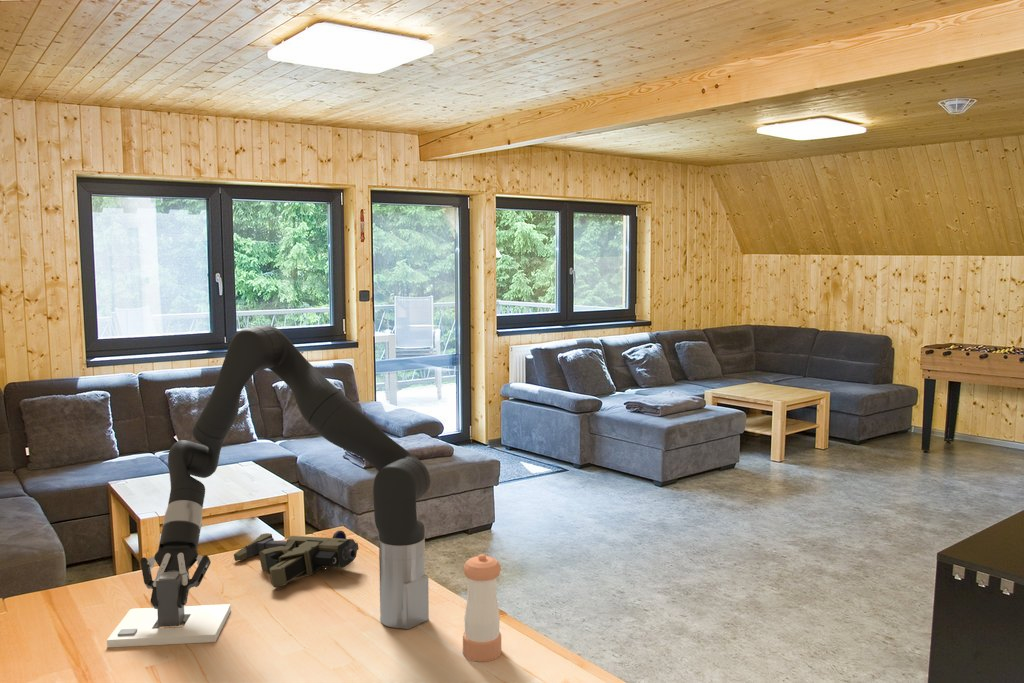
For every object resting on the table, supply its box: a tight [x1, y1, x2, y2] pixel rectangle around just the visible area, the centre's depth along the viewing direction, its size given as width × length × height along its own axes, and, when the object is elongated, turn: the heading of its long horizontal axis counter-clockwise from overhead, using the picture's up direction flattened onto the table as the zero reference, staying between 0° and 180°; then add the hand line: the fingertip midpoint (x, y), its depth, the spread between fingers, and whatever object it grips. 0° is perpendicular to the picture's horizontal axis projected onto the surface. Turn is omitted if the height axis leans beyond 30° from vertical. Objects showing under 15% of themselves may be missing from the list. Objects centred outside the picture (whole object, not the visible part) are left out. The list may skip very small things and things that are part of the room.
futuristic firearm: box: [233, 530, 360, 588], centre depth 200 cm, size 7×31×25 cm
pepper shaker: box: [462, 553, 502, 663], centre depth 158 cm, size 7×7×19 cm
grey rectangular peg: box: [156, 572, 185, 628], centre depth 168 cm, size 4×4×10 cm
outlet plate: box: [106, 603, 232, 648], centre depth 169 cm, size 20×14×2 cm
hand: (168, 606), depth 166 cm, fingers closed on grey rectangular peg, 4 cm apart
